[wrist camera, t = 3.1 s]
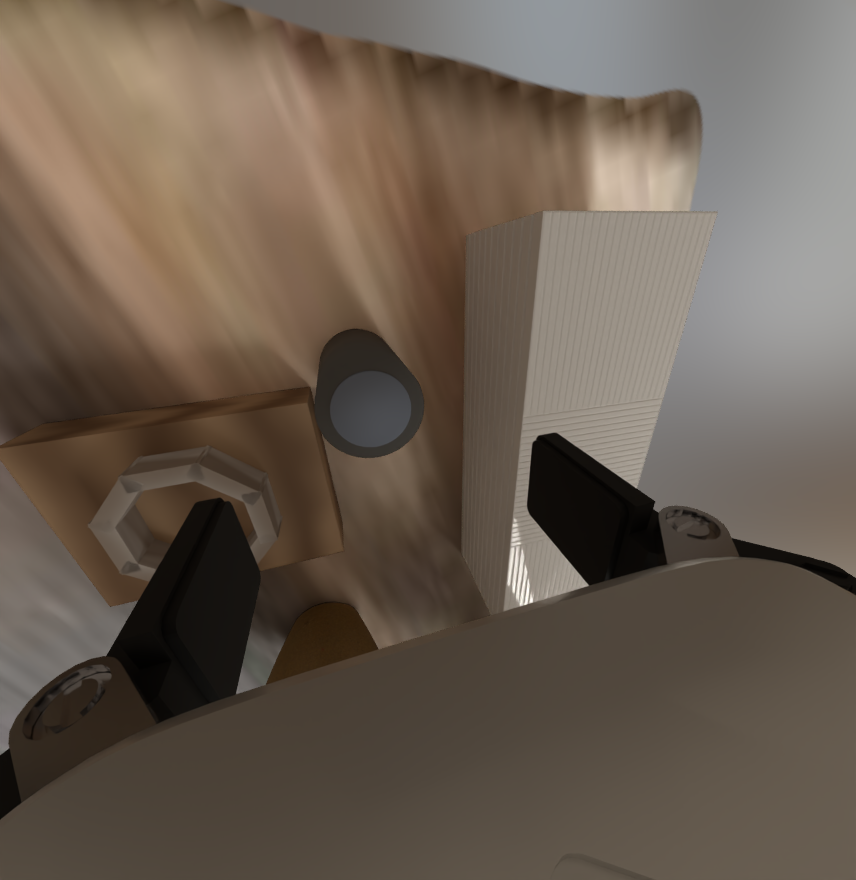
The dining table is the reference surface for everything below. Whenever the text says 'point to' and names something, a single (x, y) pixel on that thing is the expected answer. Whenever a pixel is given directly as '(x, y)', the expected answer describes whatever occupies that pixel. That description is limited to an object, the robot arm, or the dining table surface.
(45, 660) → the dining table surface
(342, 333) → the lens
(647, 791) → the robot arm
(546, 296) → the stack of papers
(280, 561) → the wooden block
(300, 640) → the plant pot
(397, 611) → the dining table surface
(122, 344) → the dining table surface
